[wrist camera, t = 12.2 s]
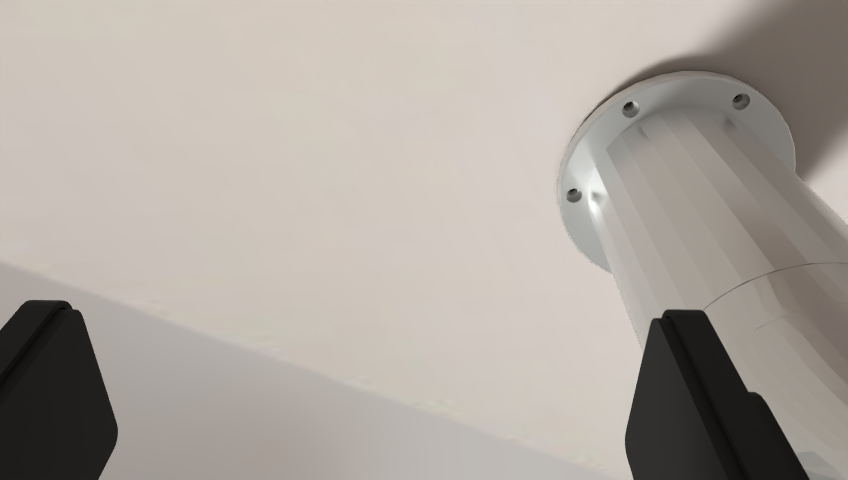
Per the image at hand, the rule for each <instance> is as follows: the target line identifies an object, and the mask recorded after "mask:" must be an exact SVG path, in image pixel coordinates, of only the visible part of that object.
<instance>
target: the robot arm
mask: <svg viewBox="0 0 848 480" xmlns="http://www.w3.org/2000/svg"><path fill="white" fill-rule="evenodd" d="M737 95H739V96H738V98H737V99H735V100H733V99H734V98H735V97H736V96H737ZM631 101H632V103H631V105H630V106H629V107H627V108H624V105H625V104H626V103H628V102H631ZM795 168H796V159H795V145H794V142H793V139H792V135H791V132H790V129H789V126H788V125H787V123H786V121H785V120H784V118H783V116H782V115H781V113H780V111H779V110H778V109H777V108H776V107H775V106H774V105H773V104H772V103H771V102H770V101H769V100H768V99H767V98H766V97H765V96H764V95H762V94H761V93H760V92H758V91H757V90H756V89H754V88H753V87H752V86H750V85H749V84H746V83H744V82H742V81H740V80H738V79H735V78H733V77H731V76H728V75H723V74H718V73H714V72H709V71H679V72H673V73H667V74H661V75H658V76H655V77H652V78H649V79H646V80H643V81H640V82H637V83H635V84H633V85H632V86H630V87H628V88H626V89H624V90H622V91H621V92H619V93H617V94H615V95H614V96H612V97H611V98H610V99H609V100H607V101H606V102H605V103H604V104H602V105H601V106H600V107H598V108H597V109H596V110H595V111H594V112H593V113H592V114H591V115H590V117H589V118H588V119H587V120H586V121H585V122H584V123H583V124H582V125H581V126H580V128H579V129H578V131H577V133H576V134H575V136H574V137H573V139H572V141H571V142H570V144H569V145H568V148H567V150H566V153H565V155H564V158H563V160H562V163H561V166H560V172H559V177H558V183H557V193H558V206H559V209H560V214H561V218H562V221H563V223H564V226H565V228H566V231H567V233H568V236H569V237H570V239H571V240H572V242H573V243H574V245H575V246H576V248H577V249H578V250H579V251H580V252H581V253H582V254H583V255H584V256H585V257H586V258H587V259H588V260H589V261H590V262H591V263H593V264H595V265H596V266H598V267H600V268H601V269H603V270H604V271H606V272H608V273H611V274H613V276H614V279H615V281H616V284H617V287H618V289H619V292H620V294H621V297H622V300H623V302H624V305H625V307H626V310H627V313H628V315H629V318H630V320H631V323H632V326H633V328H634V331H635V333H636V336H637V339H638V341H639V344H640V346H641V349H642V352H643V358H642V363H641V367H640V372H639V376H638V381H637V385H636V389H635V394H634V398H633V403H632V407H631V412H630V416H629V420H628V425H627V429H626V435H625V448H626V454H627V458H628V462H629V465H630V468H631V472H632V475H633V478H634V480H848V225H847V224H846V223H845V222H844V221H843V220H842V219H841V218H840V217H839V216H838V215H837V214H836V213H835V212H834V211H833V210H832V209H831V208H830V207H829V206H828V205H827V204H826V203H825V202H824V201H823V200H822V199H821V198H820V197H819V196H818V195H817V194H816V193H815V192H814V191H813V190H812V189H811V188H810V187H809V186H808V185H807V184H806V183H805V182H804V181H803V180H802V179H801V178H800V177H799V176H798V175H797V174H796V173H795ZM574 188H575V190H574V191H572V192H570V191H569V190H571V189H574ZM117 436H118V427H117V423H116V420H115V417H114V413H113V410H112V407H111V404H110V401H109V398H108V394H107V391H106V388H105V385H104V382H103V379H102V376H101V373H100V369H99V366H98V363H97V360H96V357H95V354H94V350H93V347H92V344H91V341H90V338H89V335H88V332H87V329H86V325H85V322H84V319H83V316H82V314H81V312H79V310H73V309H72V307H71V305H70V304H69V303H68V302H66V301H59V300H58V301H57V300H56V301H55V300H30V301H26V302H25V303H24V304H23V305H21V307H20V308H19V309H18V310H17V311H16V312H15V314H14V315H13V316H12V318H10V320H9V321H8V322H7V323H6V324H5V325H4V327H3V328H2V329H1V330H0V480H98V479H99V477H100V475H101V473H102V471H103V469H104V467H105V465H106V463H107V461H108V459H109V457H110V456H111V454H112V452H113V449H114V447H115V445H116V441H117Z"/></svg>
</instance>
